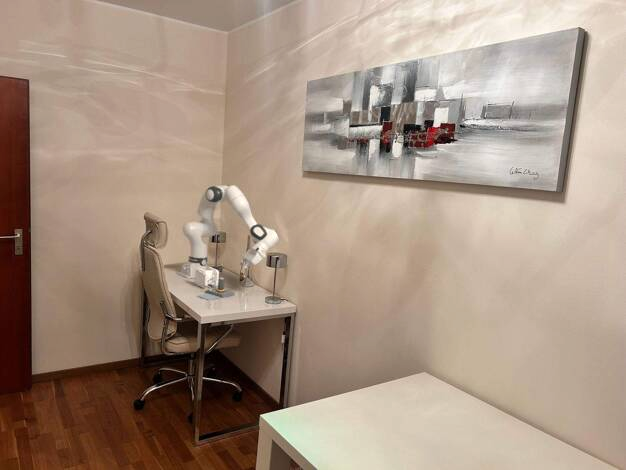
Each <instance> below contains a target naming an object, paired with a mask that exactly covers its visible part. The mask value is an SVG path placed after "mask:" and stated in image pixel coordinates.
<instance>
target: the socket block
mask: <svg viewBox="0 0 626 470" xmlns="http://www.w3.org/2000/svg"><path fill="white" fill-rule="evenodd" d="M217 289H218V287H214V288H213V287H212V288H208V289H206V294H212V295H215V296H218V297H220V298H219V299H224V298H230V297H234V296H235V293H236V292H234V291H231V290H227V289H225V288H224V292H221V293H220V292H218V291H217Z"/></svg>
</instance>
